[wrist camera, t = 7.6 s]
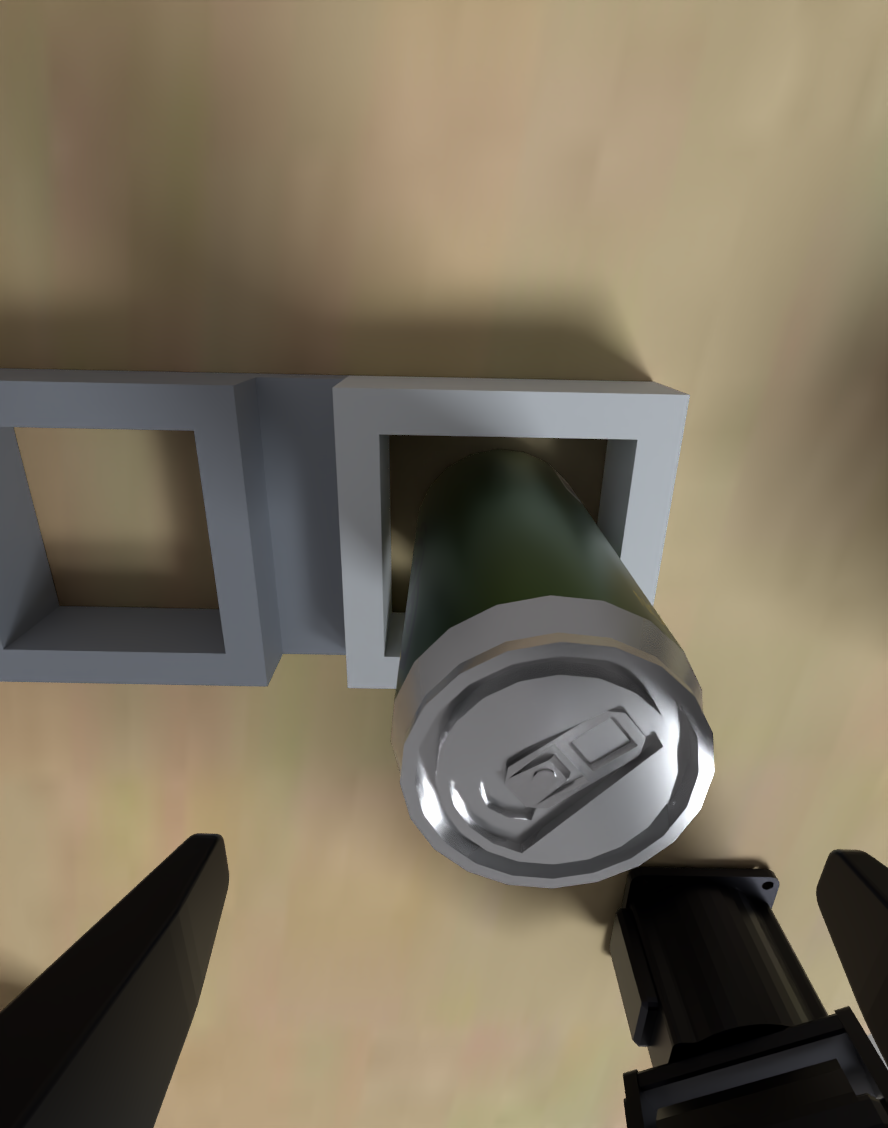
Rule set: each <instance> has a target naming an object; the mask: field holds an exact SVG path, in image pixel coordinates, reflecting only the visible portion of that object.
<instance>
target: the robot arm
mask: <svg viewBox="0 0 888 1128" xmlns="http://www.w3.org/2000/svg"><path fill="white" fill-rule="evenodd" d="M228 885H229V870H228V864H227V857H226V851H225V844H224V840H223V837H222V836H221V835H219V834H204V833H197V834H194V835H192V836H190V837H189V838H188V839H187V840H186V841H184V842H183V843H182V844H181V845H180V846H179V847H178V848H177V849H176V850H175V851H174V852H173V853H171V854H170V855H169V856H168V857H167V858H166V859H165V860H164V861H163V862H162V863H161V864H160V865H159V866H157V867H156V868H155V869H154V870H153V871H152V872H151V873H150V874H149V875H148V876H147V877H146V878H144V879H143V880H142V881H141V882H140V883H139V884H138V885H137V886H136V887H135V888H134V889H133V890H131V891H130V892H129V893H128V894H127V895H126V896H125V897H124V898H123V899H122V900H121V901H120V902H119V903H117V904H116V905H115V906H114V907H113V908H112V909H111V910H110V911H109V912H108V913H107V914H106V915H104V916H103V917H102V918H101V919H100V920H99V921H98V922H97V923H96V924H95V925H94V926H93V927H92V928H90V929H89V930H88V931H87V932H86V933H85V934H84V935H83V936H82V937H81V938H80V939H79V940H77V941H76V942H75V943H74V944H73V945H72V946H71V947H70V948H69V949H68V950H67V951H66V952H65V953H63V954H62V955H61V956H60V957H59V958H58V959H57V960H56V961H55V962H54V963H53V964H52V965H50V966H49V967H48V968H47V969H46V970H45V971H44V972H43V973H42V974H41V975H40V976H39V977H38V978H36V979H35V980H34V981H33V982H32V983H31V984H30V985H29V986H28V987H27V988H26V989H25V990H23V991H22V992H21V993H20V994H19V995H18V996H17V997H16V998H15V999H14V1000H13V1001H12V1002H10V1003H9V1004H8V1005H7V1006H6V1007H5V1008H4V1009H3V1010H2V1011H1V1012H0V1128H153V1127H154V1124H155V1122H156V1119H157V1116H158V1113H159V1111H160V1108H161V1105H162V1102H163V1100H164V1097H165V1094H166V1091H167V1089H168V1086H169V1083H170V1080H171V1078H172V1075H173V1072H174V1070H175V1067H176V1064H177V1061H178V1059H179V1056H180V1053H181V1050H182V1048H183V1045H184V1042H185V1039H186V1037H187V1034H188V1031H189V1028H190V1026H191V1023H192V1020H193V1017H194V1014H195V1011H196V1008H197V1005H198V1002H199V998H200V994H201V991H202V987H203V983H204V980H205V976H206V972H207V968H208V964H209V960H210V956H211V952H212V949H213V945H214V941H215V937H216V933H217V929H218V925H219V921H220V918H221V914H222V910H223V906H224V902H225V898H226V894H227V890H228ZM778 888H779V881H778V879H777V878H776V876H775V874H774V872H772V871H771V870H766V869H715V868H659V867H638V868H635V869H632V870H631V871H630V872H629V874H628V877H627V882H626V887H625V893H624V898H623V903H622V908H619V910H618V911H617V912H616V915H615V920H614V925H613V931H612V936H611V941H610V947H609V949H610V953H611V957H612V962H613V966H614V969H615V973H616V977H617V981H618V985H619V989H620V993H621V997H622V1001H623V1005H624V1009H625V1013H626V1017H627V1020H628V1024H629V1028H630V1032H631V1036H632V1040H633V1041H634V1042H635V1043H636V1044H637V1045H638V1046H643V1047H648V1051H649V1055H650V1058H651V1062H652V1066H653V1068H650V1069H646V1070H643V1071H640V1072H638V1071H637V1070H632V1071H629V1072H626V1073H623V1079H624V1087H625V1094H626V1098H625V1099H624V1107H625V1115H626V1123H627V1128H888V1070H887V1068H886V1066H885V1065H884V1063H883V1061H882V1060H881V1058H880V1056H879V1055H878V1053H877V1052H876V1050H875V1048H874V1047H873V1045H872V1043H871V1041H870V1040H869V1038H868V1036H867V1035H866V1033H865V1031H864V1030H863V1028H862V1026H861V1025H860V1023H859V1021H858V1020H857V1018H856V1017H855V1015H854V1013H853V1012H852V1010H851V1008H850V1007H849V1006H847V1007H844V1008H841V1009H837V1010H834V1011H835V1014H832V1015H829V1016H828V1014H827V1012H826V1010H825V1008H824V1006H823V1004H822V1003H821V1001H820V999H819V997H818V995H817V993H816V991H815V990H814V988H813V986H812V984H811V982H810V980H809V978H808V977H807V975H806V973H805V971H804V969H803V967H802V965H801V963H800V962H799V960H798V958H797V956H796V954H795V952H794V950H793V949H792V947H791V945H790V943H789V941H788V939H787V937H786V936H785V934H784V932H783V930H782V928H781V926H780V924H779V923H778V921H777V919H776V917H775V915H774V913H773V911H772V906H773V903H774V900H775V897H776V894H777V891H778ZM816 896H817V902H818V905H819V908H820V911H821V913H822V916H823V918H824V921H825V923H826V926H827V928H828V931H829V933H830V936H831V938H832V941H833V943H834V946H835V948H836V951H837V953H838V956H839V958H840V961H841V963H842V966H843V968H844V971H845V973H846V976H847V978H848V981H849V983H850V986H851V988H852V991H853V993H854V996H855V998H856V1001H857V1003H858V1005H859V1008H860V1010H861V1012H862V1015H863V1017H864V1019H865V1021H866V1024H867V1026H868V1028H869V1030H870V1032H871V1034H872V1036H873V1038H874V1040H875V1042H876V1044H877V1046H878V1048H879V1050H880V1052H881V1054H882V1056H883V1058H884V1060H885V1062H886V1064H887V1066H888V868H887V867H886V866H885V865H883V864H882V863H880V862H879V861H878V860H876V859H875V858H873V857H872V856H871V855H869V854H867V853H866V852H863V851H860V850H841V849H837V850H833V851H832V852H831V853H830V854H829V856H828V858H827V861H826V864H825V866H824V869H823V872H822V874H821V877H820V879H819V882H818V885H817V890H816ZM876 1098H877V1099H876Z"/></svg>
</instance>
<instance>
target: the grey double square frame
mask: <svg viewBox="0 0 888 1128" xmlns="http://www.w3.org/2000/svg"><path fill="white" fill-rule="evenodd" d="M689 397H690V395H689V394H686V393H683V392H681V391H678V390H675V389H672V388H670V387H667V386H664V385H662V384H659V383H656V382H644V381H595V380H547V379H498V378H450V377H401V376H352V375H304V374H255V373H207V372H158V371H109V370H61V369H12V368H0V681H7V682H60V683H113V684H166V685H219V686H268V684H269V682H270V680H271V678H272V676H273V674H274V671H275V669H276V667H277V665H278V663H279V661H280V659H281V657H282V654H326V655H346V662H347V682H348V688H378V689H396V685H397V677H398V669H399V661H400V653H401V645H402V638H403V630H404V622H405V614H406V613H395V612H392V574H391V513H390V452H389V435H433V436H483V437H532V438H581V439H608V442H607V450H606V458H605V466H604V474H603V482H602V490H601V497H600V505H599V513H598V521H597V526H598V527H599V529H600V530H601V532H602V533H603V535H604V536H605V538H606V539H607V541H608V542H609V543H610V545H611V546H612V548H613V549H614V551H615V552H616V554H617V555H618V557H619V558H620V559H621V561H622V562H623V564H624V565H625V567H626V568H627V570H628V571H629V573H630V574H631V575H632V577H633V578H634V580H635V581H636V583H637V584H638V586H639V587H640V589H641V590H642V591H643V593H644V594H645V596H646V597H647V599H648V600H649V602H650V603H651V605H652V606H653V604H654V598H655V593H656V587H657V581H658V575H659V570H660V564H661V558H662V552H663V547H664V541H665V535H666V529H667V524H668V518H669V512H670V506H671V501H672V495H673V489H674V483H675V478H676V472H677V466H678V460H679V455H680V449H681V443H682V437H683V432H684V426H685V420H686V414H687V409H688V403H689ZM13 427H38V428H88V429H137V430H186V431H194V435H195V442H196V449H197V456H198V463H199V470H200V477H201V484H202V491H203V498H204V505H205V512H206V519H207V526H208V533H209V540H210V547H211V554H212V561H213V568H214V575H215V582H216V589H217V596H218V603H219V609H187V608H135V607H83V606H59V602H58V598H57V594H56V590H55V587H54V583H53V579H52V575H51V571H50V567H49V563H48V560H47V556H46V552H45V548H44V544H43V540H42V536H41V532H40V529H39V525H38V521H37V517H36V513H35V509H34V505H33V502H32V498H31V494H30V490H29V486H28V482H27V478H26V474H25V471H24V467H23V463H22V459H21V455H20V451H19V447H18V444H17V440H16V436H15V432H14V428H13Z"/></svg>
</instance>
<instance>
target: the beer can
mask: <svg viewBox="0 0 888 1128" xmlns="http://www.w3.org/2000/svg"><path fill="white" fill-rule="evenodd" d="M391 744H392V748H393V751H394V754H395V758H396V761H397V764H398V768H399V771H400V774H401V776H400V785H401V788H402V792H403V795H404V798H405V802H406V805H407V808H408V812H409V815H410V818H411V820H412V821H413V823H414V824H415V825H416V826H417V828H418V829H419V830H420V831H421V833H422V834H423V835H424V837H425V838H426V839H427V840H428V842H429V843H430V844H431V846H432V847H433V848H434V849H435V850H436V851H438V852H439V853H441V854H442V855H444V856H445V857H447V858H448V859H450V860H451V861H453V862H454V863H456V864H457V865H459V866H460V867H462V868H463V869H465V870H466V871H468V872H471V873H474V874H477V875H480V876H483V877H486V878H489V879H492V880H495V881H498V882H501V883H504V884H507V885H517V886H529V887H541V888H559V887H566V886H573V885H580V884H587V883H594V882H598V881H601V880H604V879H606V878H609V877H612V876H614V875H617V874H619V873H622V872H625V871H627V870H630V869H633V868H635V867H638V866H640V865H641V864H642V863H644V862H645V861H647V860H648V859H650V858H651V857H653V856H654V855H656V854H657V853H658V852H660V851H661V850H663V849H664V848H666V847H667V846H669V845H670V844H671V843H673V842H674V841H675V840H676V839H677V838H678V836H679V835H680V834H681V833H682V831H683V830H684V829H685V828H686V827H687V825H688V824H689V823H690V822H691V821H692V819H693V818H694V817H695V816H696V814H697V813H698V812H699V811H700V810H701V807H702V804H703V802H704V799H705V796H706V793H707V791H708V788H709V785H710V783H711V780H712V777H713V774H714V751H713V733H712V730H711V728H710V726H709V724H708V722H707V720H706V718H705V716H704V714H703V701H702V689H701V687H700V684H699V682H698V680H697V678H696V676H695V674H694V672H693V670H692V668H691V666H690V663H689V661H688V659H687V657H686V655H685V653H684V651H683V650H682V648H681V647H680V645H679V644H678V642H677V641H676V639H675V638H674V637H673V635H672V634H671V632H670V631H669V629H668V628H667V626H666V625H665V623H664V622H663V621H662V619H661V618H660V616H659V615H658V613H657V612H656V610H655V609H654V607H653V606H652V605H651V603H650V602H649V600H648V599H647V597H646V596H645V594H644V593H643V591H642V590H641V589H640V587H639V586H638V584H637V583H636V581H635V580H634V578H633V577H632V575H631V574H630V573H629V571H628V570H627V568H626V567H625V565H624V564H623V562H622V561H621V559H620V558H619V557H618V555H617V554H616V552H615V551H614V549H613V548H612V546H611V545H610V543H609V542H608V541H607V539H606V538H605V536H604V535H603V533H602V532H601V530H600V529H599V527H598V526H597V525H596V523H595V522H594V520H593V519H592V517H591V516H590V514H589V513H588V511H587V510H586V509H585V507H584V506H583V504H582V503H581V501H580V500H579V498H578V497H577V495H576V494H575V493H574V491H573V490H572V488H571V487H570V485H569V484H568V482H567V481H566V480H565V479H564V478H563V477H562V476H561V475H560V474H559V473H558V472H557V471H556V470H555V469H554V468H553V467H552V466H550V465H549V464H548V463H546V462H544V461H542V460H540V459H538V458H536V457H533V456H531V455H529V454H527V453H525V452H518V451H509V450H500V449H496V450H491V451H486V452H481V453H476V454H471V455H469V456H467V457H466V458H464V459H462V460H460V461H458V462H457V463H455V464H453V465H451V466H449V467H448V468H446V470H445V471H444V472H443V473H442V474H441V475H440V476H439V477H438V478H437V479H436V480H435V481H434V482H433V483H432V485H431V486H430V487H429V489H428V491H427V493H426V495H425V497H424V500H423V502H422V504H421V506H420V508H419V512H418V520H417V528H416V536H415V543H414V551H413V559H412V567H411V575H410V583H409V591H408V598H407V606H406V614H405V622H404V630H403V638H402V645H401V653H400V661H399V669H398V677H397V685H396V693H395V700H394V711H393V721H392V731H391Z"/></svg>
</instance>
